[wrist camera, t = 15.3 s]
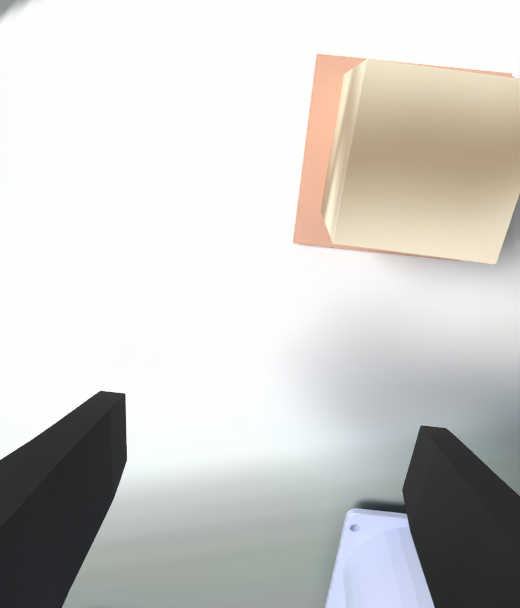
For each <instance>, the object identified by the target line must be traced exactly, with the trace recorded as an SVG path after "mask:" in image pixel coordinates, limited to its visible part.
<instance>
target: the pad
mask: <svg viewBox="0 0 520 608" xmlns="http://www.w3.org/2000/svg"><path fill="white" fill-rule="evenodd" d="M365 60H366V59H362V58H352V57H342V56H332V55H323V54H317V57H316V65H315V72H314V80H313V88H312V96H311V104H310V112H309V120H308V128H307V136H306V144H305V151H304V159H303V167H302V175H301V183H300V191H299V199H298V207H297V215H296V223H295V230H294V238H293V243H296V244H305V245H315V246H324V247H334V248H343V249H353V250H362V251H372V252H381V253H391V254H400V255H410V256H419V257H429V258H438V259H448V260H457V259H449V258H441V257H433V256H426V255H418V254H410V253H402V252H395V251H387V250H379V249H371V248H364V247H356V246H348V245H340V244H333V243H332V240H331V237H330V235H329V232H328V229H327V227H326V224H325V222H324V219H323V216H322V214H321V205H322V200H323V194H324V188H325V182H326V176H327V170H328V165H329V159H330V153H331V147H332V141H333V135H334V130H335V124H336V118H337V112H338V106H339V100H340V95H341V89H342V83H343V77H344V74H345V73H347V72H348V71H350V70H351V69H353V68H354V67H356V66H357V65H359V64H360V63H362V62H363V61H365ZM381 61H382V60H381ZM389 62H391V61H389ZM397 63H401V62H397ZM404 64H411V63H404ZM412 65H420V66H428V67H435V68H443V69H451V70H458V71H466V72H474V73H481V74H489V75H497V76H505V77H512V74H509V73H499V72H489V71H480V70H470V69H460V68H450V67H440V66H431V65H421V64H412ZM457 261H460V260H457Z"/></svg>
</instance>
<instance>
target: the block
mask: <svg viewBox="0 0 520 608" xmlns="http://www.w3.org/2000/svg"><path fill="white" fill-rule="evenodd" d="M519 195H520V78H512V77H505V76H497V75H489V74H481V73H474V72H466V71H458V70H451V69H443V68H435V67H428V66H420V65H412V64H404V63H397V62H389V61H381V60H374V59H366V60H365V61H363V62H362V63H360V64H359V65H357V66H356V67H354V68H353V69H351V70H350V71H348V72H347V73H345V74H344V77H343V83H342V89H341V95H340V100H339V106H338V112H337V118H336V124H335V130H334V135H333V141H332V147H331V153H330V159H329V165H328V170H327V176H326V182H325V188H324V194H323V200H322V205H321V214H322V216H323V219H324V222H325V224H326V227H327V229H328V232H329V235H330V237H331V240H332V243H333V244H340V245H348V246H356V247H364V248H371V249H379V250H387V251H395V252H402V253H410V254H418V255H426V256H433V257H441V258H449V259H457V260H464V261H472V262H480V263H488V264H495V265H496V263H497V260H498V257H499V254H500V251H501V248H502V245H503V242H504V239H505V236H506V233H507V230H508V227H509V224H510V221H511V218H512V215H513V212H514V209H515V206H516V203H517V200H518V198H519Z"/></svg>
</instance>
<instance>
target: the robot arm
mask: <svg viewBox="0 0 520 608" xmlns="http://www.w3.org/2000/svg"><path fill="white" fill-rule="evenodd" d="M126 461H127V445H126V405H125V394H124V393H114V392H105V391H100V392H98V393H97V394H95V395H94V396H93V397H91V398H90V399H88V400H87V401H86V402H84V403H83V404H81V405H80V406H79V407H77V408H76V409H75V410H73V411H72V412H71V413H69V414H68V415H66V416H65V417H64V418H62V419H61V420H59V421H58V422H57V423H55V424H54V425H52V426H51V427H50V428H48V429H47V430H45V431H44V432H42V433H41V434H40V435H38V436H37V437H35V438H34V439H32V440H31V441H29V442H28V443H26V444H25V445H23V446H21V447H20V448H18V449H17V450H15V451H14V452H12V453H11V454H9V455H7V456H6V457H4V458H3V459H1V460H0V608H62V606H63V604H64V601H65V599H66V597H67V595H68V592H69V590H70V588H71V586H72V584H73V582H74V580H75V578H76V576H77V574H78V572H79V570H80V568H81V565H82V563H83V561H84V559H85V557H86V555H87V553H88V551H89V549H90V547H91V545H92V543H93V541H94V539H95V537H96V535H97V533H98V531H99V528H100V526H101V524H102V522H103V520H104V518H105V516H106V514H107V512H108V510H109V508H110V505H111V503H112V501H113V499H114V496H115V493H116V491H117V488H118V485H119V482H120V479H121V476H122V473H123V470H124V467H125V464H126ZM402 491H403V496H404V502H405V508H406V513H407V514H404V513H394V512H385V511H376V510H367V509H358V508H354V509H351V510H349V511H348V512H347V514H346V517H345V522H344V526H343V530H342V535H341V539H340V544H339V548H338V552H337V557H336V561H335V565H334V570H333V574H332V579H331V583H330V587H329V592H328V596H327V600H326V605H325V608H520V496H519V495H518V494H517V493H516V492H515V491H513V490H512V489H511V488H510V487H509V486H508V485H507V484H506V483H505V482H504V481H502V480H501V479H500V478H499V477H498V476H497V475H496V474H495V473H494V472H493V471H492V470H491V469H490V468H489V467H487V466H486V465H485V464H484V463H483V462H482V461H481V460H480V459H479V458H478V457H477V456H476V455H475V454H474V453H473V452H472V451H471V450H470V449H468V448H467V447H466V446H465V445H464V444H463V443H462V442H461V441H460V440H459V439H458V438H457V437H456V436H454V435H453V434H452V433H451V432H450V431H449V430H448V429H446V428H439V427H430V426H421V427H420V430H419V434H418V437H417V441H416V444H415V448H414V451H413V455H412V458H411V462H410V465H409V469H408V472H407V476H406V479H405V483H404V486H403V490H402ZM354 524H356V525H354Z"/></svg>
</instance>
